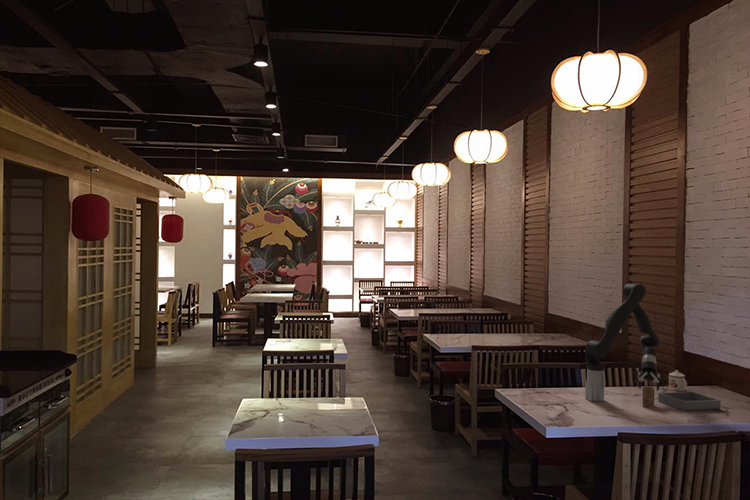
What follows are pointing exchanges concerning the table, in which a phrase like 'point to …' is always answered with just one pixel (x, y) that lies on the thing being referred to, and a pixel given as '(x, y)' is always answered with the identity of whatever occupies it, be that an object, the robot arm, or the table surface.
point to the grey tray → (689, 401)
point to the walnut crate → (648, 397)
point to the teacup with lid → (677, 381)
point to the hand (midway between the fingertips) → (648, 388)
